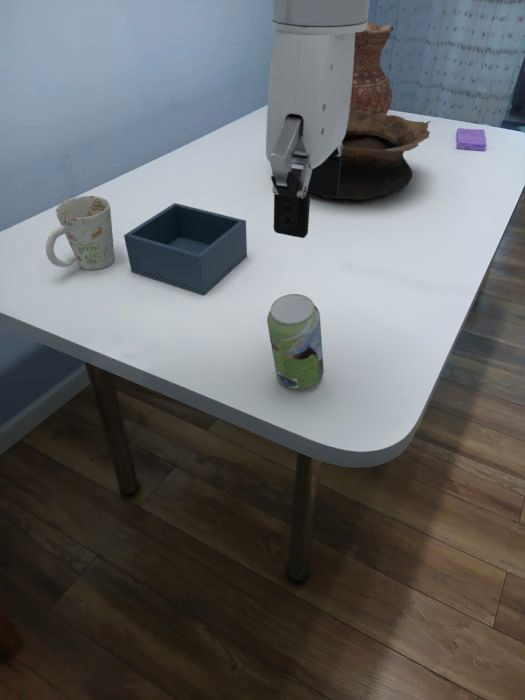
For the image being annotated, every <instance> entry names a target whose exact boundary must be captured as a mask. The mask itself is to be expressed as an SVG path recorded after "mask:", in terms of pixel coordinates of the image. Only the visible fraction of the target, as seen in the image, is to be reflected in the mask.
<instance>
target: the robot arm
mask: <svg viewBox="0 0 525 700" xmlns="http://www.w3.org/2000/svg"><path fill="white" fill-rule="evenodd" d="M370 4H371V0H271V29H272V30H274V31H275V32H274V36H273V37H274V38H273V44H272V51H271V58H270V66H269V67H270V68H269V78H268V94H267V108H266V109H267V111H266V129H265V130H266V134H265V137H266V138H265V157H266V159H267V161H268V162H269V164H270V167H271V168H270V169H271V172H272V173H271V176H270V179H271V181H272V193H273V231H274V232H275V233H276V234H281V235H285V236H290V237H295V238H300V239H304V238H306V237H307V235H308V234H309V223H310V222H309V221H310V209H311V207H310V206H311V194H314V195H318V194H319V196H321V195H325V196H331V197H335V196H336V195H337V193H338V188H339V178H340V168H341V158H340V157H336V156H341V153H342V148H343V145H342V140H343V139H344V137H345V134H346V130H347V125H348V118H349V111H350V101H351V90H352V79H353V65H354V52H355V48H354V47H355V33H356V32H362V31H365V30H366V29H367V22H369V21H368V20H369V12H370ZM293 154H297V155H304V156H307V159H306V158H299V157H292V156H293ZM291 168H296V169H302V173H301V177H300V180H298V178H297V176H296V174H295V172H291ZM307 189H308V191H309V192H308V191H307ZM307 192H308V193H310V194H307Z"/></svg>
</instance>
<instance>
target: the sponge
mask: <svg viewBox="0 0 525 700" xmlns="http://www.w3.org/2000/svg"><path fill="white" fill-rule="evenodd" d="M455 134H456V148H457V149H461V150H471V151H480V152H481V151H482V152H485V151H486V147H487V145H488V144H487V141H486V140H487V138H486V131H485V129H479V128H478V129H477V128H462V127H457V130H456V133H455Z"/></svg>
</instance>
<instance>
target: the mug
mask: <svg viewBox="0 0 525 700" xmlns="http://www.w3.org/2000/svg"><path fill="white" fill-rule="evenodd" d="M55 214H56V217H57V220H58V222H59V224H60V226H59V227H56V229H54V230H53V231H51V232H50V233H49V235H48V237H47V240H46V244H45V254H46V256H47V260H48V261H49V262H50V264H52V265H53V266H56V267H59V268H68V267H70V266H71V265H73V264H75V263H76V262H77V264H78V265H79V266H80V268H82V269H83V270H88V271H97V270H98V271H99V270H102V269H105V268H107V267H110V266H111V265H112V264H113V263H114V261H115V247H114V236H113V235H114V234H113V225H112V224H113V223H112V211H111V205H110V202H109V200H108V199H106V198H104V197H101V196H98V195H97V196H96V195H82V196H76V197H72V198H68V199H66V200H64V201H62V202H61V203H59V204H58V205H57V206H56V208H55ZM63 235H65V238H66V239H67V242H68V244H69V246H70V249H71V250H72V253H73V255H74V256H73V257H71V258H69V259H68V260H66V261H63V260H61V259H59V258H58V257H57V256H56V254H55V243H56V241H57V239H58V238H60V237H61V236H63Z"/></svg>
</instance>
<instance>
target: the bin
mask: <svg viewBox="0 0 525 700" xmlns="http://www.w3.org/2000/svg"><path fill="white" fill-rule="evenodd" d="M123 238H124V243H125V247H126V253H127V257H128V262H129V267H130V270H131V273H134V274H137V275H140V276H144V277H146V278H149V279H152V280H155V281H158V282H162V283H164V284H168V285H171V286H174V287H178V288H180V289H184V290H187V291H189V292H193V293H195V294H199V295H203V296H205V295H206V294H208V292H210V291H211V290H212V289H213V287H215V286H216V285H217V284H218V283H219V282H221V280H223V279H224V278H225V277H226V276H228V274H229V273H230V272H231V271H233V269H235V268H236V267H237V266H238V265H239V264H240V263H241V262H243V261H244V260H245V259H246V258H247V256H248V249H247V248H248V242H247V241H248V239H247V238H248V237H247V220H245V219H241V218H237V217H233V216H229V215H225V214H221V213H217V212H213V211H209V210H205V209H201V208H196V207H193V206H189V205H185V204H181V203H177V202H173V203H172V204H170V205H169V206H167V207H165V208H164V209H163V210H161V211H160V212H158V213H157V214H154V215H153V216H152V217H150V218H149V219H147V220H145V221H144V222H143V223H141V224H139V225H138V226H136V227H134V228H133V229H131V230H130V231H128V232H127V233H125V234H123Z"/></svg>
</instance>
